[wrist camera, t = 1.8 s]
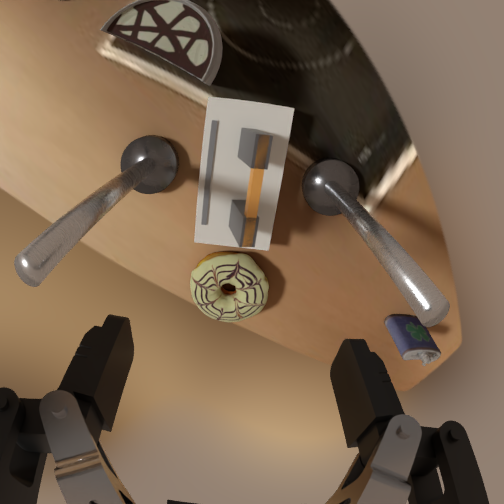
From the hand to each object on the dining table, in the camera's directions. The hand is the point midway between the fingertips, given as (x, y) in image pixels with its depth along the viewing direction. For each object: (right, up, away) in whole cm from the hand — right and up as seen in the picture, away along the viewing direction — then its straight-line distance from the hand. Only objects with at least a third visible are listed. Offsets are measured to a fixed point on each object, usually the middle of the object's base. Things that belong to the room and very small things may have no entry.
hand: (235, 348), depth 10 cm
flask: (+28, -9, +37) cm, 47 cm away
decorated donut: (-3, 0, +32) cm, 32 cm away
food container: (-7, +27, +16) cm, 32 cm away
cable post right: (+10, +12, +25) cm, 29 cm away
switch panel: (-1, +13, +24) cm, 27 cm away
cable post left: (-12, +14, +23) cm, 29 cm away
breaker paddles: (-1, +12, +21) cm, 24 cm away
